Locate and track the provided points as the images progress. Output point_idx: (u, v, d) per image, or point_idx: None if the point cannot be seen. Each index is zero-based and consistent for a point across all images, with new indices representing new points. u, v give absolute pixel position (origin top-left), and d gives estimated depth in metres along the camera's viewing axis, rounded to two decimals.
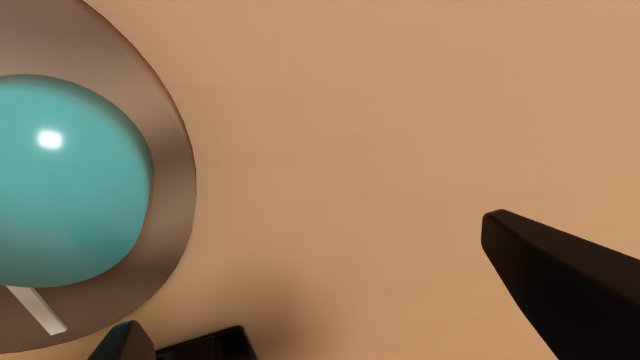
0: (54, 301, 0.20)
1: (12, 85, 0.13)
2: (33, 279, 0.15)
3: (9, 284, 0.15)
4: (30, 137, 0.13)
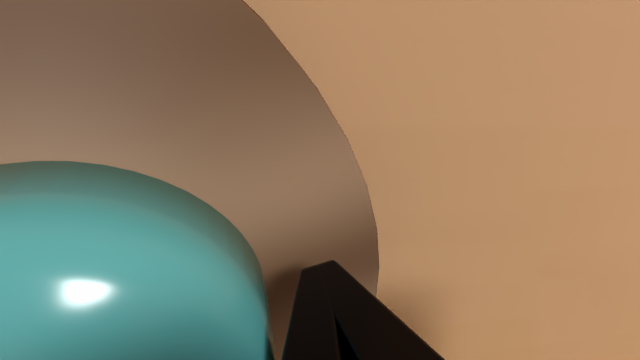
0: None
1: (7, 207, 0.05)
2: None
3: None
4: (54, 348, 0.05)
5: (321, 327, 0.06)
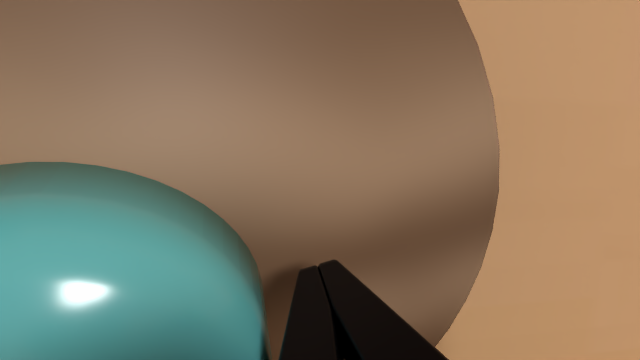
0: None
1: (0, 209, 0.05)
2: None
3: None
4: (46, 350, 0.05)
5: (318, 328, 0.06)
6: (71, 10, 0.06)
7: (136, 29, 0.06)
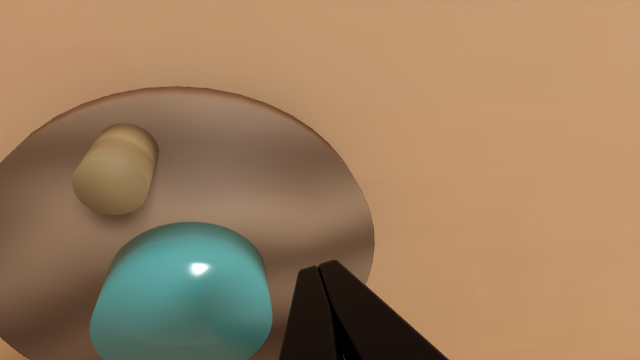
0: None
1: (182, 241, 0.17)
2: None
3: None
4: (201, 285, 0.17)
5: (318, 328, 0.06)
6: (203, 175, 0.17)
7: (224, 179, 0.18)
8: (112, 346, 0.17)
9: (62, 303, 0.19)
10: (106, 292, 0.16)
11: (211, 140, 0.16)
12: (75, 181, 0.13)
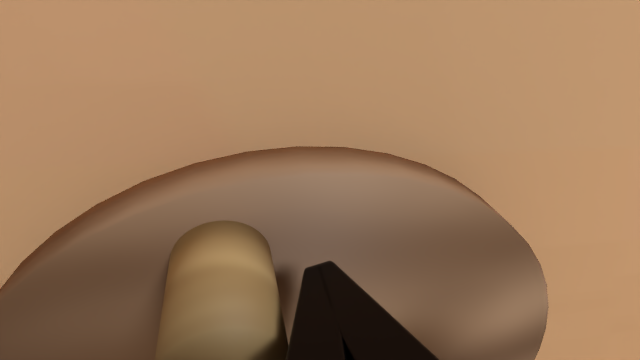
0: None
1: None
2: None
3: None
4: None
5: (325, 325, 0.06)
6: None
7: None
8: None
9: None
10: None
11: (354, 235, 0.10)
12: None
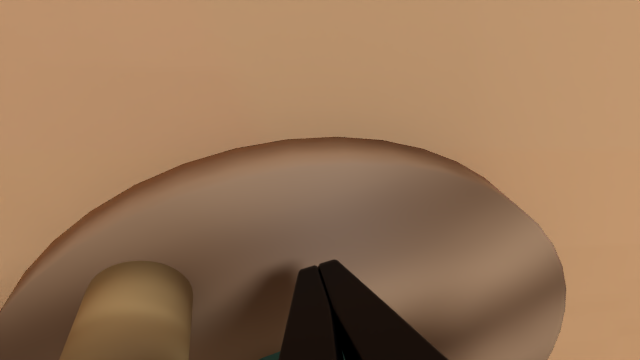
0: None
1: None
2: None
3: None
4: None
5: (318, 328, 0.06)
6: (274, 290, 0.10)
7: None
8: None
9: None
10: None
11: (267, 238, 0.09)
12: None
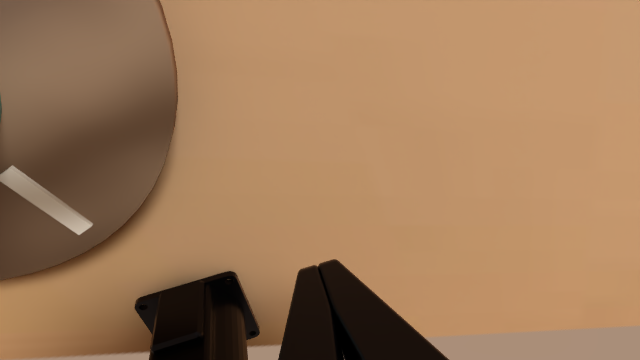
0: (61, 191, 0.17)
1: None
2: None
3: None
4: None
5: (318, 328, 0.06)
6: None
7: None
8: None
9: None
10: None
11: None
12: None
